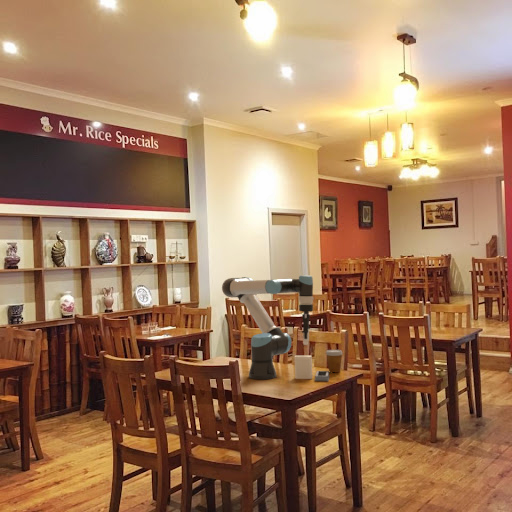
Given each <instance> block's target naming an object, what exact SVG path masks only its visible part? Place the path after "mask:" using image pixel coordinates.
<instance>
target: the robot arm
mask: <svg viewBox="0 0 512 512" xmlns="http://www.w3.org/2000/svg"><path fill="white" fill-rule="evenodd" d="M221 286H222V287H221V290H222V292H223V295H225V296H226V297H228V298H237V299H238V301H239V302H240V304H244V305H245V307H246V308H247V310H248V312H249V314H250V315H251V317H252V319H253V320H254V322H255V323H256V326H257V327H258V328H259V330H260V332H261V333H257V334H254V335H252V337H251V339H250V341H251V342H250V350H251V365H250V368H249V371H248V378H249V379H253V380H270V379H275V378H277V371H276V369H275V366H274V361H273V359H274V358H273V356H279V355H284V354H286V353H288V352H289V351H290V349H291V347H292V338H291V336H290V334H289V333H287V332H283V331H282V329H281V328H280V327H279V326H276V324H275V323H274V321H273V319H272V318H271V317H270V316H269V313H268V311H266V309H265V307H264V306H263V304H262V303H261V301H260V299H259V298H258V296H257V295H261V294H262V295H263V294H264V295H265V294H270V295H277V294H287V293H288V294H289V293H298V303H299V305H298V307H299V308H298V310H299V312H303V314H302V323H303V324H302V325H303V328H302V329H303V330H302V331H301V333H302V338H303V342H302V343H303V346H309V341H310V329H311V327H310V316H311V314H310V312H313V311H314V304H313V303H314V300H315V298H314V292H313V291H314V279H313V276H312V275H299V276H298V278H283V279H263V280H262V279H261V280H258V279H257V280H254V279H252V278H251V277H246V276H242V277H230V278H227V279H225V280H224V281H223V283H222V285H221Z"/></svg>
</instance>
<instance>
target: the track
mask: <svg viewBox="0 0 512 512" xmlns="http://www.w3.org/2000/svg"><path fill="white" fill-rule="evenodd" d="M329 375H330V372H329V370H316V372H315V376H314V382H329V380H330V376H329Z"/></svg>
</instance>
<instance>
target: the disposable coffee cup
mask: <svg viewBox="0 0 512 512" xmlns="http://www.w3.org/2000/svg"><path fill="white" fill-rule="evenodd" d="M325 354H326V360H327V367H328V371H330V372H339V373H341V370H342V369H341V367H342V357H343V351H342V350H341V349H328V350H326V352H325ZM330 372H329V373H330Z"/></svg>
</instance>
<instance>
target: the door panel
mask: <svg viewBox="0 0 512 512" xmlns="http://www.w3.org/2000/svg"><path fill="white" fill-rule="evenodd" d="M312 356H313V355H294V377H295V380H299V379H300V380H312V379H313V357H312Z"/></svg>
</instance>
